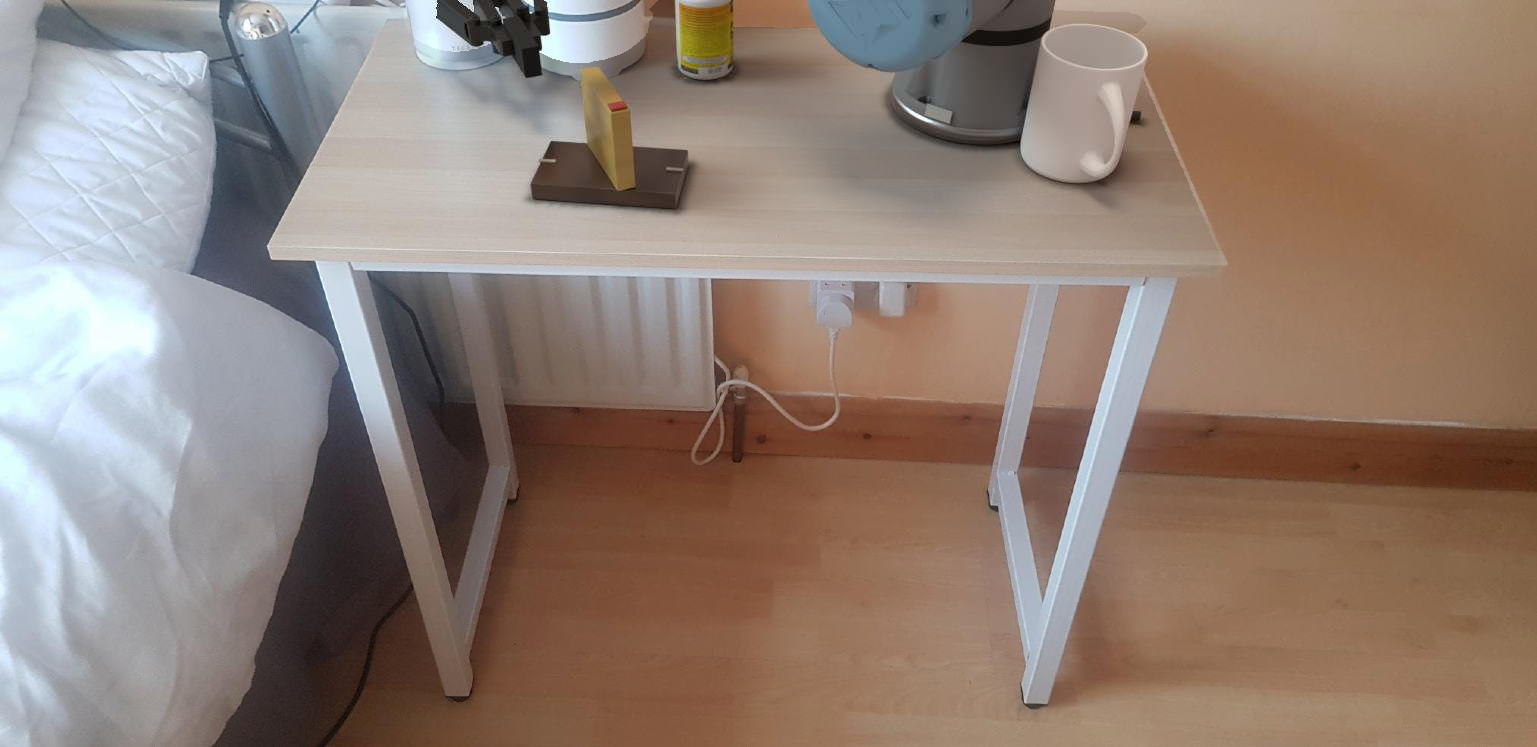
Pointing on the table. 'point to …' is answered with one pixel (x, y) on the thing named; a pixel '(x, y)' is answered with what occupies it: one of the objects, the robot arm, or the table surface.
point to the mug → (1081, 101)
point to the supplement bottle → (704, 37)
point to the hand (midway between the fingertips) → (532, 62)
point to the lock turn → (608, 128)
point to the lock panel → (583, 179)
